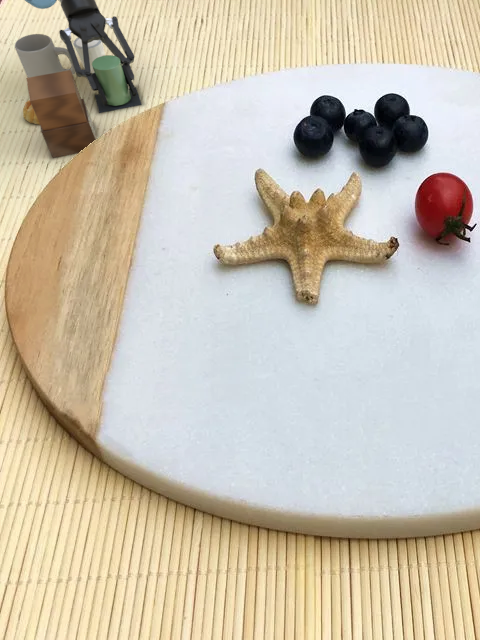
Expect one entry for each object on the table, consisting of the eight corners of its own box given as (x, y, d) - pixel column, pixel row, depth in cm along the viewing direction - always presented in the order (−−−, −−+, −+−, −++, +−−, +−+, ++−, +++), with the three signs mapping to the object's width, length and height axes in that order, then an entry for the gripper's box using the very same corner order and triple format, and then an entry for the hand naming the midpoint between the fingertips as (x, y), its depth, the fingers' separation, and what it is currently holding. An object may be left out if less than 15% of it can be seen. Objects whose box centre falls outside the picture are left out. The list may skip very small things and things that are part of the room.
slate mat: (99, 114, 160) (99, 112, 159) (95, 96, 164) (94, 95, 164) (142, 106, 162) (141, 104, 162) (136, 89, 166) (136, 87, 166)
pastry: (73, 113, 160) (67, 98, 157) (60, 130, 156) (54, 115, 153) (37, 108, 161) (30, 93, 158) (22, 124, 157) (16, 110, 154)
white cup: (87, 60, 174) (77, 33, 168) (113, 61, 174) (104, 34, 168) (79, 75, 170) (69, 48, 164) (106, 76, 169) (97, 48, 164)
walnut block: (53, 159, 149) (27, 102, 138) (49, 134, 155) (24, 77, 144) (99, 150, 152) (78, 92, 140) (93, 125, 157) (72, 68, 146)
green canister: (106, 108, 160) (93, 72, 153) (102, 93, 163) (90, 58, 156) (133, 102, 161) (122, 66, 154) (129, 88, 165) (118, 53, 157)
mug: (30, 97, 164) (10, 53, 155) (35, 78, 169) (17, 34, 160) (80, 94, 165) (64, 50, 156) (84, 75, 170) (69, 31, 161)
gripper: (31, 1, 147) (79, 106, 153) (117, -20, 153) (160, 82, 159) (34, 15, 154) (80, 115, 160) (116, -5, 160) (158, 92, 166)
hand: (120, 98), depth 159 cm, fingers closed on green canister, 6 cm apart
